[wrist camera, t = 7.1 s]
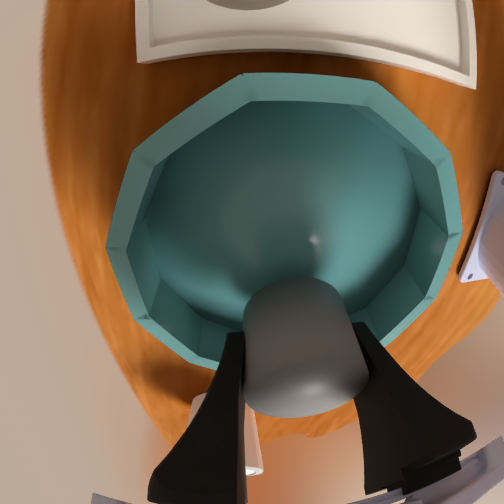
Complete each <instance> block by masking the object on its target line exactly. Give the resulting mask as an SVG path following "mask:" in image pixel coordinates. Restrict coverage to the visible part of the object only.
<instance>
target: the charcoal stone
mask: <svg viewBox="0 0 504 504" xmlns="http://www.w3.org/2000/svg"><path fill="white" fill-rule="evenodd" d="M243 332H244V399H245V402H246V403H247V405H248V406H249V407H250V408H251V409H253V410H254V411H256V412H258V413H261V414H264V415H267V416H272V417H280V418H296V417H305V416H311V415H316V414H320V413H323V412H327V411H329V410H332V409H335V408H337V407H339V406H341V405H343V404H345V403H347V402H348V401H350V400H351V399H353V398H354V397H355V396H357V395H358V394H359V393H360V392H361V391H362V390H363V389H364V387H365V386H366V384H367V382H368V379H369V371H368V368H367V366H366V363H365V360H364V357H363V354H362V351H361V349H360V346H359V343H358V340H357V338H356V335H355V332H354V329H353V327H352V324H351V322H350V319H349V316H348V314H347V311H346V309H345V306H344V303H343V301H342V298H341V296H340V294H339V293H338V291H337V290H336V289H335V288H334V287H333V286H332V285H330V284H329V283H327V282H325V281H323V280H320V279H317V278H312V277H290V278H285V279H281V280H278V281H275V282H273V283H271V284H268V285H267V286H265V287H263V288H262V289H260V290H259V291H257V292H256V293H255V294H254V295H253V296H252V297H251V298H250V300H249V301H248V303H247V304H246V306H245V309H244V312H243Z"/></svg>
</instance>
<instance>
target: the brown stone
mask: <svg viewBox="0 0 504 504" xmlns="http://www.w3.org/2000/svg"><path fill="white" fill-rule="evenodd" d="M207 1H209V2H210V3H213V4H215V5H218V6H221V7H224V8H229V9H235V10H260V9H267V8H271V7H275V6H277V5H280V4H283V3H285V2H287V1H289V0H207Z"/></svg>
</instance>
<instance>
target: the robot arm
mask: <svg viewBox="0 0 504 504" xmlns="http://www.w3.org/2000/svg"><path fill="white" fill-rule="evenodd" d="M487 278H489V279H490V281H491V282H492V283H493V284H494V286H495V287H496V288H497V289H498V291H499V292H500V293H501V295H502V296H503V297H504V172H502V171H498V170H497V171H495V172H493V174H492V176H491V180H490V184H489V188H488V192H487V196H486V199H485V203H484V206H483V210H482V213H481V216H480V219H479V222H478V226H477V228H476V231H475V234H474V237H473V240H472V243H471V245H470V248H469V250H468V253H467V256H466V258H465V261H464V263H463V265H462V268H461V270H460V272H459V275H458V279H459V280H460V282H462V283H463V282H469V281H475V280H481V279H487ZM351 324H352V327H353V329H354V332H355V335H356V338H357V340H358V343H359V346H360V349H361V351H362V354H363V357H364V360H365V363H366V366H367V368H368V371H369V379H368V382H367V384H366V386H365V387H364V389H363V390H362V391H361V392H360V393H359V394H358V395H357V396H355V397H354V398H353V399H354V402H355V405H356V409H357V413H358V417H359V422H360V429H361V436H362V444H363V454H364V489H365V494H366V495H369V494H372V493H375V492H379V491H382V490H385V489H387V491H388V492H387V493H384V494H381V495H378V496H374V497H371V498H368V499H364V500H360V501H357V502H353V503H348V504H391V503H393V502H396V501H399V500H402V499H404V498H406V500H405V502H404V503H401V504H473V503H474V502H476V501H477V500H478V499H479V498H481V497H482V496H483V495H484V494H486V493H487V492H488V491H489V490H490V489H492V488H493V487H494V486H496V485H497V484H498V483H499V482H500V481H502V480H503V479H504V441H503V438H502V436H500V437H499V438H497V439H496V440H494V441H492V442H491V443H490V444H488V445H486V446H485V447H483V448H481V449H480V450H478V451H477V452H475V453H473V454H472V455H470V456H468V457H466V458H465V459H463V460H461V461H459V456H461V452H460V449H462V448H463V447H465V446H466V445H468V444H469V443H471V442H472V441H474V440H475V439H476V437H477V435H476V432H475V429H474V427H473V424H472V422H471V421H470V420H468V419H466V418H464V417H462V416H460V415H458V414H457V413H455V412H453V411H451V410H450V409H449V408H447V407H446V406H444V405H443V404H441V403H440V402H439V401H437V400H436V399H435V398H434V397H432V396H431V395H430V394H428V393H427V392H426V391H425V390H424V389H423V388H421V387H420V386H419V385H418V384H417V383H416V382H415V381H414V380H413V379H412V378H411V377H410V376H409V375H408V374H407V373H406V372H405V371H404V370H403V369H402V368H401V367H400V366H399V364H398V363H397V362H396V361H395V360H394V359H393V357H392V356H391V355H390V354H389V353H388V352H387V350H386V349H385V348H384V347H383V345H382V344H381V343H380V342H379V340H378V339H377V338H376V337H375V335H374V334H373V333H372V332H371V330H370V329H369V328H368V326H367V325H366V324H365V323H364V322H355V323H351ZM245 403H246V402H245V399H244V332H229V333H227V335H226V341H225V345H224V349H223V353H222V356H221V359H220V362H219V365H218V368H217V370H216V373H215V376H214V378H213V380H212V383H211V385H210V387H209V389H208V392H207V394H206V396H205V398H204V400H203V402H202V404H201V406H200V408H199V409H198V411H197V413H196V415H195V416H194V418H193V420H192V421H191V423H190V424H189V426H188V428H187V429H186V431H185V432H184V434H183V435H182V436H181V438H180V439H179V440H178V442H177V443H176V445H175V446H174V447H173V449H172V450H171V451H170V452H169V454H168V455H167V456H166V457H165V458H164V459H163V461H162V462H161V463H160V464H159V465H158V466H157V467H156V468H155V469H154V471H153V473H152V476H151V479H150V482H149V486H148V498H147V500H148V501H149V502H153V503H157V504H246V503H247V502H248V501H247V486H246V466H245V444H244V419H245ZM91 504H131V503H127V502H123V501H119V500H115V499H112V498H108V497H105V496H102V495H98V494H95V493H93V494H92V501H91Z"/></svg>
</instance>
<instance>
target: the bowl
mask: <svg viewBox="0 0 504 504" xmlns="http://www.w3.org/2000/svg"><path fill="white" fill-rule="evenodd" d="M462 232H463V229H462V219H461V210H460V203H459V196H458V189H457V183H456V178H455V172H454V167H453V162H452V158H451V153H450V151H449V150H448V149H447V148H446V147H445V146H444V145H443V144H442V143H441V142H440V140H439V139H438V138H437V137H436V136H435V135H434V134H433V133H432V132H431V131H430V130H429V129H428V128H427V127H426V126H425V125H424V124H423V123H422V122H421V121H420V120H419V119H418V118H417V117H416V116H415V115H414V114H413V113H412V112H411V111H410V110H408V109H407V108H406V107H405V106H404V105H403V104H402V103H401V102H400V101H398V100H397V99H396V98H395V97H394V96H393V95H391V94H390V93H389V92H388V91H387V90H386V89H384V88H383V87H382V86H381V85H379V84H378V83H377V82H375V81H369V80H363V79H356V78H348V77H339V76H329V75H318V74H301V73H243V76H242V74H240V75H238V76H236V77H235V78H233V79H231V80H230V81H228V82H226V83H225V84H223V85H222V86H220V87H218V88H217V89H215V90H214V91H212V92H211V93H209V94H207V95H206V96H204V97H203V98H201V99H200V100H198V101H197V102H195V103H194V104H193V105H191V106H190V107H188V108H187V109H185V110H184V111H183V112H181V113H180V114H178V115H177V116H176V117H174V118H173V119H172V120H170V121H169V122H168V123H166V124H165V125H164V126H162V127H161V128H160V129H158V130H157V131H156V132H155V133H153V134H152V135H151V136H150V137H148V138H147V139H146V140H145V141H143V142H142V143H141V144H140V145H139V146H137V147H136V148H135V149H134V150H133V151H132V154H131V157H130V160H129V163H128V166H127V169H126V172H125V175H124V178H123V181H122V184H121V188H120V191H119V194H118V198H117V201H116V205H115V209H114V213H113V216H112V220H111V224H110V228H109V233H108V237H107V241H106V246H105V247H106V251H107V254H108V257H109V259H110V262H111V265H112V268H113V270H114V273H115V276H116V278H117V281H118V283H119V286H120V288H121V291H122V293H123V296H124V298H125V300H126V303H127V305H128V307H129V310H130V312H131V314H132V317H133V319H134V320H135V321H136V322H137V323H139V324H140V325H141V326H142V327H143V328H145V329H146V330H147V331H148V332H149V333H151V334H152V335H153V336H154V337H156V338H157V339H158V340H160V341H161V342H162V343H163V344H165V345H166V346H167V347H169V348H170V349H171V350H173V351H174V352H175V353H177V354H178V355H179V356H181V357H182V358H183V359H185V360H186V361H188V362H190V363H192V364H195V365H199V366H202V367H206V368H209V369H213V370H217V368H218V365H219V362H220V359H221V356H222V353H223V349H224V345H225V341H226V335H227V333H229V332H243V312H244V309H245V306H246V304H247V303H248V301H249V300H250V298H251V297H252V296H253V295H254V294H255V293H256V292H257V291H259V290H260V289H262V288H263V287H265V286H267V285H268V284H271V283H273V282H275V281H278V280H281V279H285V278H290V277H312V278H317V279H320V280H323V281H325V282H327V283H329V284H330V285H332V286H333V287H334V288H335V289H336V290H337V291H338V293H339V294H340V296H341V298H342V301H343V303H344V306H345V309H346V311H347V314H348V316H349V319H350V322H351V323H355V322H364V323H365V324H366V325H367V326H368V328H369V329H370V330H371V332H372V333H373V334H374V335H375V337H376V338H377V339H378V340H379V342H380V343H381V344H382V345H383V347H385V346H387V345H388V344H389V343H390V342H392V341H393V340H394V339H395V338H396V337H397V336H398V335H399V334H401V333H402V332H403V331H404V330H405V329H406V328H407V327H408V326H409V325H410V324H411V323H412V322H413V321H414V320H415V319H416V318H417V317H418V316H419V315H420V314H421V313H422V312H423V311H424V310H425V309H426V308H427V307H428V306H429V305H430V304H431V303H432V302H433V301H434V300H435V298H436V297H437V295H438V293H439V291H440V289H441V286H442V284H443V282H444V280H445V277H446V275H447V273H448V270H449V268H450V265H451V263H452V260H453V258H454V255H455V252H456V250H457V247H458V244H459V242H460V239H461V236H462Z"/></svg>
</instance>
